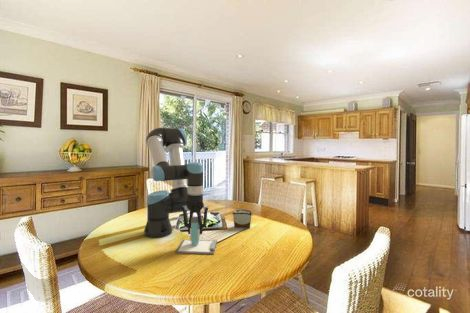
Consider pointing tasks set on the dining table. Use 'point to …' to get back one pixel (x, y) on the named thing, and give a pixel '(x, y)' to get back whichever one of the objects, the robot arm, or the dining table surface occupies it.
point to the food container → (242, 218)
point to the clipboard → (197, 247)
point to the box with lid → (194, 230)
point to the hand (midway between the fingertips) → (195, 240)
